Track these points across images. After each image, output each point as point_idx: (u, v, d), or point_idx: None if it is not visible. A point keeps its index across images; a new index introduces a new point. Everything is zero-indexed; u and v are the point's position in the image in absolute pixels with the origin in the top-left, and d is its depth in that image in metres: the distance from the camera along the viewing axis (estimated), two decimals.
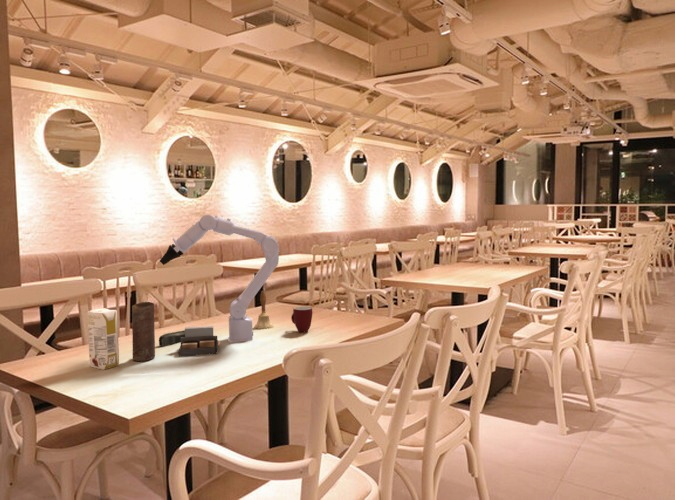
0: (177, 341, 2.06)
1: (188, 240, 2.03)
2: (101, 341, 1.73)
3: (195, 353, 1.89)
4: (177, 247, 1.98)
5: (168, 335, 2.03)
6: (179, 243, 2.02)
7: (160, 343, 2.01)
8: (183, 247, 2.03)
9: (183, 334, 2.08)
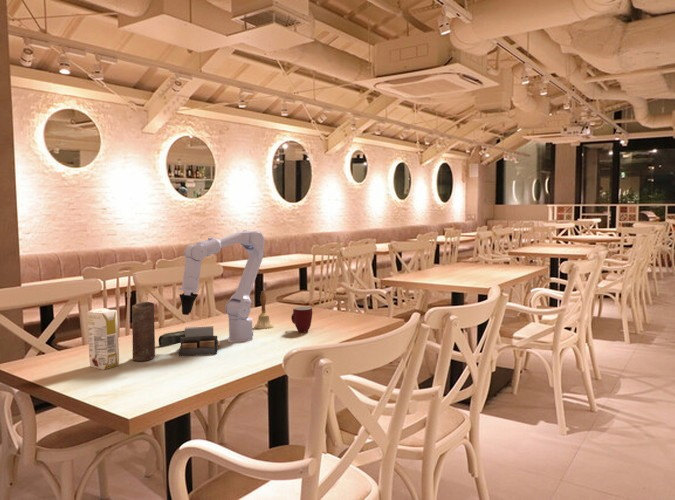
0: (177, 341, 2.05)
1: (191, 279, 1.94)
2: (101, 341, 1.73)
3: (195, 353, 1.89)
4: (186, 291, 1.89)
5: (168, 335, 2.02)
6: (186, 287, 1.93)
7: (159, 343, 2.00)
8: (192, 288, 1.94)
9: (183, 334, 2.08)
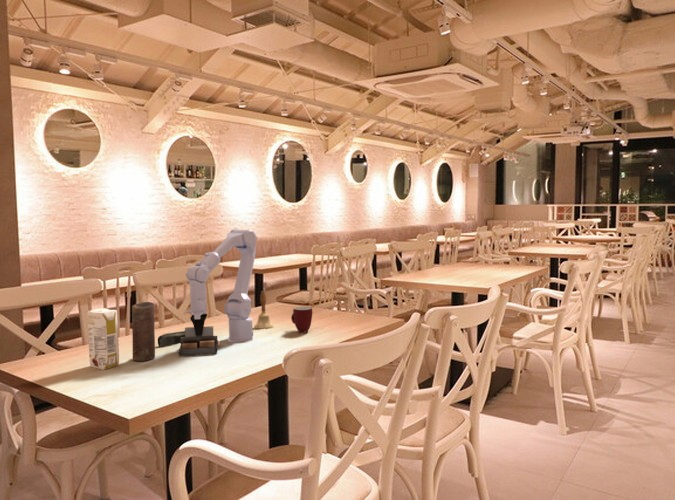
0: (177, 341, 2.05)
1: (198, 301, 1.93)
2: (101, 341, 1.73)
3: (195, 353, 1.89)
4: (196, 315, 1.89)
5: (167, 335, 2.02)
6: (195, 310, 1.93)
7: (158, 343, 2.00)
8: (201, 310, 1.93)
9: (183, 334, 2.07)
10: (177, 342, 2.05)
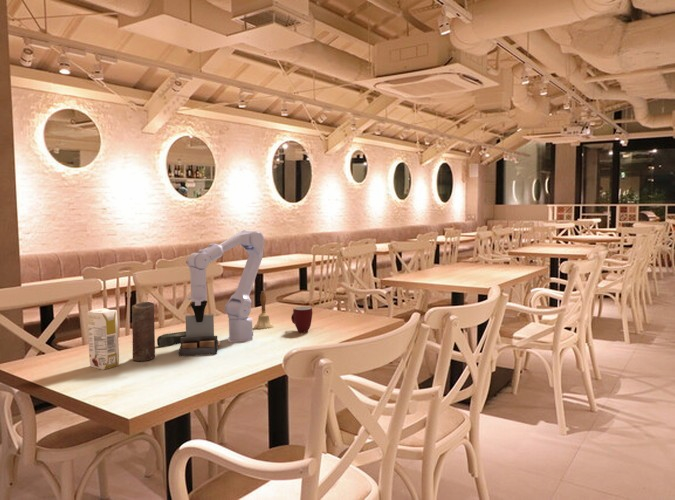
0: (176, 342, 2.04)
1: (199, 288, 1.95)
2: (101, 341, 1.73)
3: (195, 353, 1.89)
4: (196, 301, 1.91)
5: (166, 336, 2.02)
6: (195, 297, 1.95)
7: (158, 343, 2.00)
8: (201, 296, 1.96)
9: (183, 335, 2.06)
10: (177, 342, 2.04)
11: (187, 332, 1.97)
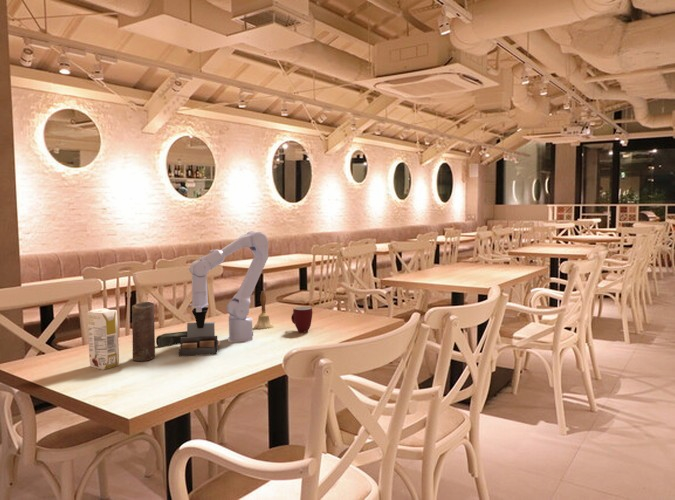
0: (176, 342, 2.04)
1: (200, 295, 2.00)
2: (101, 341, 1.73)
3: (195, 353, 1.89)
4: (197, 308, 1.96)
5: (165, 335, 2.02)
6: (196, 303, 2.00)
7: (157, 343, 2.00)
8: (202, 303, 2.01)
9: (183, 335, 2.06)
10: (176, 342, 2.04)
11: None
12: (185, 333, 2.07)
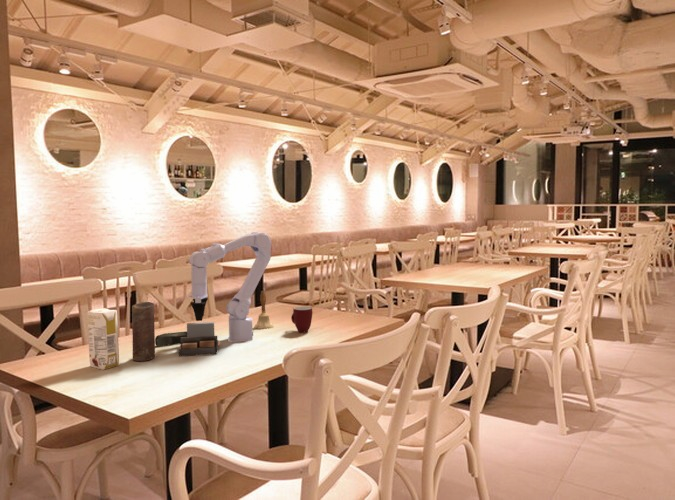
0: (175, 342, 2.04)
1: (199, 286, 2.00)
2: (101, 341, 1.73)
3: (195, 353, 1.89)
4: (197, 299, 1.96)
5: (164, 335, 2.02)
6: (196, 294, 2.00)
7: (156, 343, 2.01)
8: (201, 294, 2.00)
9: (182, 335, 2.06)
10: (175, 342, 2.04)
11: None
12: (184, 333, 2.06)
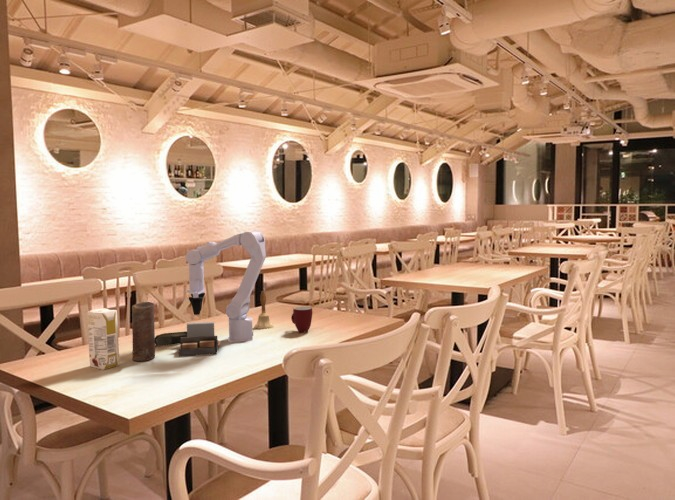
0: (174, 342, 2.04)
1: (197, 281, 2.11)
2: (101, 341, 1.73)
3: (195, 353, 1.89)
4: (194, 294, 2.07)
5: (164, 335, 2.02)
6: (193, 290, 2.11)
7: (155, 342, 2.01)
8: (199, 289, 2.12)
9: (182, 335, 2.06)
10: (175, 342, 2.04)
11: None
12: (184, 333, 2.06)
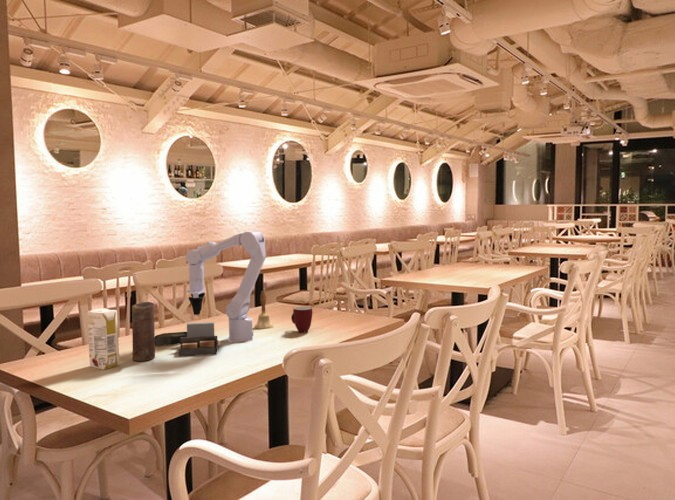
0: (173, 342, 2.04)
1: (197, 281, 2.11)
2: (101, 341, 1.73)
3: (195, 353, 1.89)
4: (194, 294, 2.07)
5: (163, 335, 2.02)
6: (193, 290, 2.11)
7: None
8: (199, 289, 2.12)
9: (181, 335, 2.06)
10: (174, 342, 2.04)
11: None
12: (184, 333, 2.06)
